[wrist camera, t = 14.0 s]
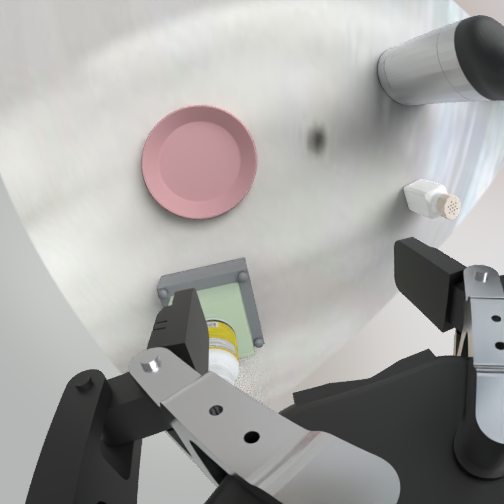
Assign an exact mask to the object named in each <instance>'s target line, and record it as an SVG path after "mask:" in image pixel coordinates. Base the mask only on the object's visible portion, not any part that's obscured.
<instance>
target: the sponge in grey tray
mask: <svg viewBox="0 0 504 504" xmlns="http://www.w3.org/2000/svg"><path fill="white" fill-rule="evenodd" d="M189 288H195V289H196V292H197V294H198V298H199V301H200V304H201V307H202V310H203V313H204V316H205V319H208V318H219V319H222V320H225V321H227V322H228V323H229V324H230V325H231V326H232V327H233V328H234V331H235V334H236V341H237V349H238V357H239V359H240V358H245V357H249V356H254V355H255V352H254V346H256V347H258V348H260V347H262V346H263V344H264V339H263V335H262V331H261V326H260V322H259V317H258V313H257V309H256V304H255V300H254V295H253V291H252V287H251V282H250V278H249V273H248V269H247V265H246V260H245V258H241V259H236V260H232V261H227V262H223V263H218V264H214V265H209V266H205V267H200V268H196V269H191V270H187V271H182V272H178V273H173V274H169V275H164V276H162V277H161V279H160V282H159V284H158V287H157V291H158V293H159V294H158V296H159V298H160V299H161V302H162V305H163V307H165V306H170V305H172V301H173V298H174V294H175V292H176V291H180V290H185V289H189Z"/></svg>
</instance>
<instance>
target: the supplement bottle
mask: <svg viewBox="0 0 504 504" xmlns="http://www.w3.org/2000/svg"><path fill="white" fill-rule="evenodd" d="M205 320H206V323H207V327H208V331H209V367H208V371H212V372H214V373H216V374H217V375H219V376H220V377H222V378H223V379H225V380H226V381H228V382H229V383H231V384H232V385H234V386H235V381H236V380H237V378H238V376H239V373H240V364H239V357H238V349H237V341H236V334H235V331H234V328H233V327H232V326H231V325H230V324H229V323H228V322H227V321H225V320H222V319H219V318H208V319H205Z"/></svg>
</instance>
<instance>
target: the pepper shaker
mask: <svg viewBox="0 0 504 504" xmlns="http://www.w3.org/2000/svg"><path fill="white" fill-rule="evenodd" d="M404 193H405V197H406V201H407V204H408V207H409V209H410V210H411V211H414V212H416V213H418V214H420V215H423V216H425V217H427V218H429V219H434V218H436V217H438V216H442V217H445V218H447V219H449V220H451V219H455V218H456V217H457V216H458V215H459V212H460V209H461V203H460V201H459V198H458V197H456V196H455V195H452V194H448V193H447V192H446V189H445V187H444V186H443V185H442V184H438V183H435V182H431V181H427V180H424V179H419V180H417V181H415V182H413V183H411V184H409V185H407V186H405V187H404Z"/></svg>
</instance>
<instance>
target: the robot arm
mask: <svg viewBox="0 0 504 504" xmlns="http://www.w3.org/2000/svg"><path fill="white" fill-rule="evenodd" d="M378 77H379V80H380V83H381V85H382V87H383V89H384V90H385V92H386V93H387V94H388V95H389V96H390V97H391V98H392V99H393V100H395V101H396V102H398V103H400V104H402V105H407V106H412V105H422V104H435V103H448V102H466V101H492V100H494V101H497V100H504V26H502V25H501V24H500V23H499V22H497V21H496V20H494V19H493V18H490V17H488V16H481V15H478V16H473V17H470V18H467V19H464V20H461V21H458V22H455V23H452V24H450V25H447V26H444V27H442V28H439V29H436V30H434V31H431V32H429V33H426V34H424V35H421V36H419V37H416V38H414V39H411V40H409V41H407V42H404V43H402V44H399V45H397V46H395V47H393V48H390V49H388V50H386V51H385V52H384V53H383V54H382V55H381V57H380V59H379V62H378ZM394 277H395V283H396V286H397V288H398V290H399V291H400V292H401V293H402V294H403V295H405V297H407V298H408V299H409V300H410V301H411V302H412V303H413V304H414V305H415V306H416V307H417V308H418V309H419V310H420V311H421V312H422V313H423V314H424V315H425V316H426V317H427V318H428V319H429V320H430V321H431V322H432V323H433V324H435V326H437V327H438V329H440V330H441V331H442V332H446V331H448V330H450V329H452V328H456V330H455V336H454V354H453V356H438V357H436V356H435V355H434V354H433V353H432V352H431V351H430V349H427V350H425V351H422V352H419V353H417V354H414V355H412V356H409V357H407V358H404V359H401V360H399V361H398V362H396V363H394V364H393V365H391V366H390V367H388V368H387V369H385V370H383V371H382V372H380V373H378V374H377V375H375V376H373V377H371V378H369V379H363V380H355V381H346V382H337V383H329V384H325V385H322V386H318V387H314V388H311V389H307V390H303V391H299V392H295V393H293V398H294V403H295V404H293V405H291V406H289V407H287V408H286V409H284V410H282V411H280V412H279V413H276V412H275V411H273V410H271V409H270V408H268V407H267V406H265V405H263V404H262V403H260V402H258V401H257V400H255V399H254V398H252V397H251V396H249V395H247V394H246V393H244V392H243V391H241V390H240V389H238V388H237V387H235V386H234V385H232V384H231V383H229V382H228V381H226V380H225V379H223V378H222V377H220V376H219V375H217V374H216V373H214V372H212V371H208V367H209V331H208V327H207V323H206V320H205V316H204V313H203V310H202V307H201V304H200V301H199V298H198V294H197V292H196V289H195V288H189V289H185V290H180V291H176V292H175V294H174V298H173V301H172V305H170V306H165V307H164V308H163V309H162V310H161V311H160V312H159V313H158V314H157V317H156V320H155V324H154V327H153V331H152V333H151V337H150V340H149V343H148V347H147V350H145V351H142V352H141V353H139V354H137V355H136V356H135V357H134V358H133V359H132V360H131V362H130V364H129V372H127V373H125V374H123V375H120V376H117V377H114V378H112V379H108V380H106V378H105V376H104V374H103V373H102V372H101V371H99V370H95V369H91V370H86V371H83V372H81V373H79V374H77V375H75V376H74V377H73V378H72V379H71V380H70V381H69V382H68V384H67V386H66V388H65V390H64V393H63V395H62V398H61V400H60V403H59V405H58V407H57V410H56V413H55V415H54V417H53V420H52V423H51V425H50V428H49V431H48V433H47V436H46V439H45V442H44V445H43V447H42V451H41V453H40V456H39V459H38V463H37V465H36V469H35V472H34V475H33V478H32V482H31V485H30V488H29V492H28V495H27V499H26V503H25V504H137V492H138V478H139V466H140V456H141V445H142V438H145V437H148V436H151V435H154V434H157V433H159V432H162V431H165V432H166V433H167V434H168V435H169V437H170V438H171V439H172V440H173V441H174V442H175V443H176V444H177V445H178V446H179V447H180V449H181V450H182V451H183V452H184V453H185V454H186V455H187V456H188V457H189V458H190V459H191V460H192V461H193V462H194V463H195V464H196V465H197V466H198V467H199V468H200V469H201V471H202V472H203V473H204V474H205V475H206V476H207V477H208V479H209V480H210V481H211V482H212V483H213V484H214V485H215V486H216V487H217V489H216V490H215V491H214V492H213V493H212V495H211V496H210V498H208V500H207V501H206V502H205V503H204V504H504V275H501V276H499V275H498V272H497V271H496V270H494V269H493V268H491V267H488V266H483V265H473V266H469V267H466V266H464V265H462V264H461V263H459V262H458V261H456V260H454V259H453V258H450V257H449V256H448V255H446V254H444V253H443V252H441V251H440V250H438V249H436V248H433V247H429V246H427V245H426V244H424V243H422V242H421V241H419V240H417V239H415V238H414V237H410V238H406V239H402V240H398V241H396V242H395V244H394Z"/></svg>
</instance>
